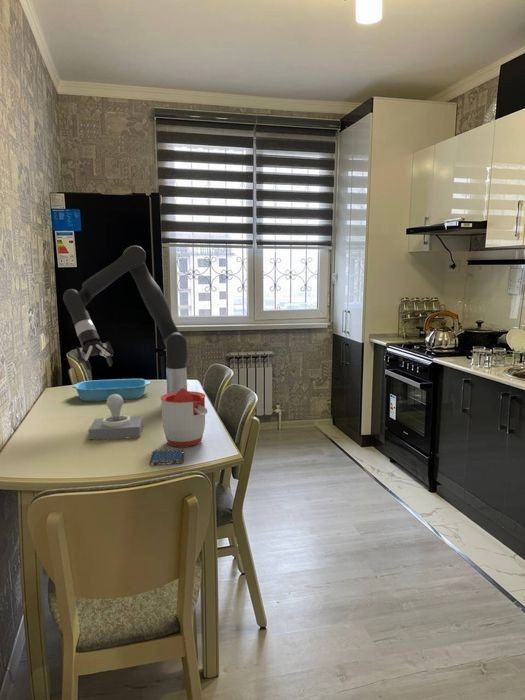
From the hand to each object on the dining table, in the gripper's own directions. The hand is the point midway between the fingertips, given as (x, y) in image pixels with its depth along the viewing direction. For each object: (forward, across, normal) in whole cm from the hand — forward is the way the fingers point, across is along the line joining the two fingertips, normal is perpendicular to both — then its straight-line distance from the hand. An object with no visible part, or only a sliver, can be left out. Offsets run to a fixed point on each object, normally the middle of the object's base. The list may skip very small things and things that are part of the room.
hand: (100, 367), depth 197 cm
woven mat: (+50, -2, -30) cm, 58 cm away
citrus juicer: (+45, +10, -22) cm, 51 cm away
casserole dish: (-3, +18, +47) cm, 51 cm away
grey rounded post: (+25, -3, -3) cm, 25 cm away
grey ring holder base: (+28, -4, -1) cm, 28 cm away
